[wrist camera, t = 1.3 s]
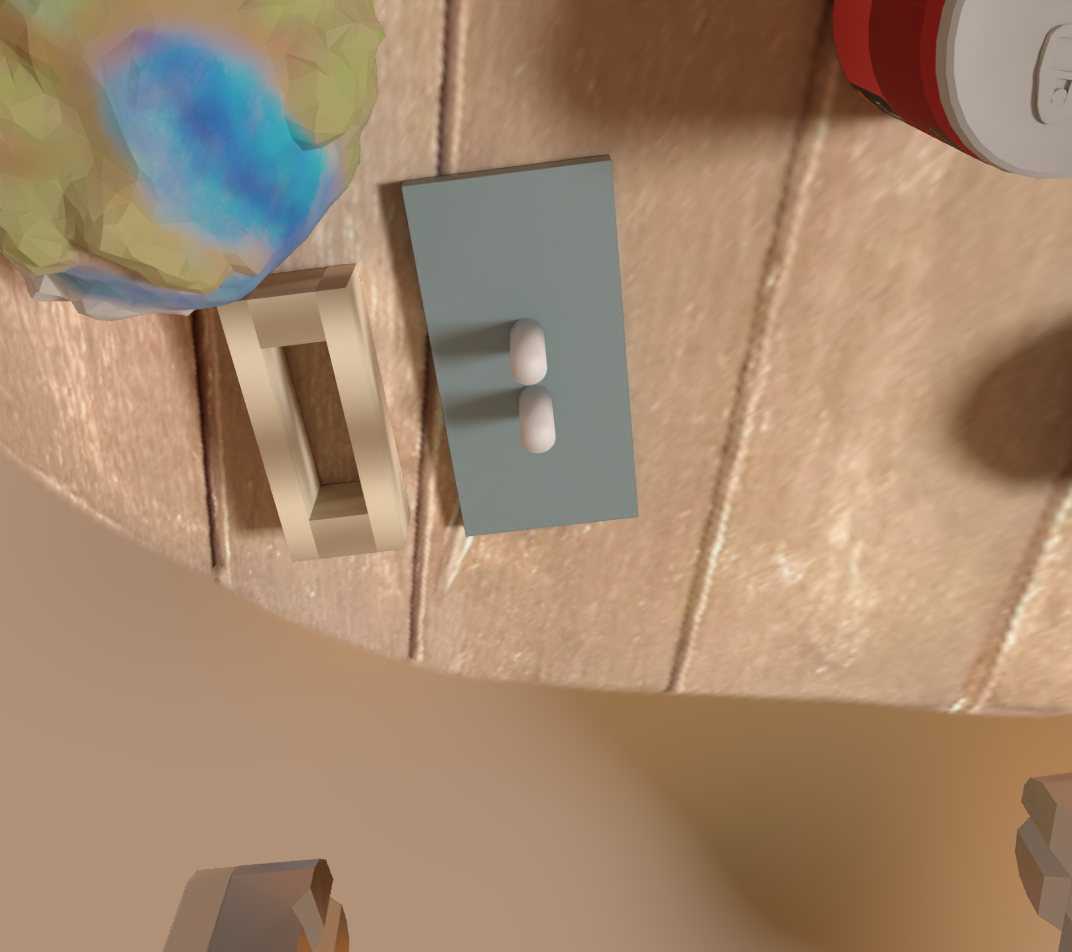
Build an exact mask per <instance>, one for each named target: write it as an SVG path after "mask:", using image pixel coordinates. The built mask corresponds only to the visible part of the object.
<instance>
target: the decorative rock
mask: <svg viewBox="0 0 1072 952" xmlns="http://www.w3.org/2000/svg"><path fill="white" fill-rule="evenodd" d="M384 37H385V34H384V32H383V30H382V28H381V26H380V22H379V21H378V19H377V18H376V16H375V12H374V8H373V0H0V252H1V253H2V254H3V255H4V256H5V257H6V258H7V259H8V260H9V261H10V262H11V263H12V264H13V265H14V266H15V267H16V268H17V270H18V271H19V272H20V273H21V275H22V276H23V277H24V278H25V280H26V283H27V288H28V292H29V294H30V295H31V297H32V299H36V300H39V301H72V303H73V305H74V306H75V308H76V310H77V311H78V313H81V314H83V315H86V316H89V317H92V318H94V319H97V320H105V321H117V320H121V319H126V318H131V317H136V316H140V315H145V314H153V313H161V314H177V315H183V316H188V315H189V314H190V313H192V312H193V311H194V310H196V309H206V308H212V307H219V306H223V305H226V304H229V303H232V302H236V301H238V300H240V299H241V298H243V297H244V296H246V295H247V294H248V293H250V292H251V291H252V290H254V289H255V288H256V287H257V285H258V284H259V283H260V282H261V281H262V280H263V279H264V278H265V277H266V276H267V275H268V274H269V273H270V272H272V271H273V270H274V269H275V268H276V267H278V266H279V265H280V264H281V263H282V262H283V261H284V260H285V259H286V258H287V257H288V256H289V255H290V254H291V253H292V252H293V251H294V250H295V249H296V248H297V247H298V246H299V245H300V244H301V243H303V242H304V241H305V240H306V239H307V237H308V236H309V234H310V233H311V231H312V230H313V229H314V227H315V226H316V225H317V223H318V222H319V221H320V220H321V218H322V217H323V216H324V214H325V213H326V212H327V210H328V209H329V207H330V206H331V205H332V204H333V203H334V202H335V201H336V200H337V199H338V198H339V196H340V195H341V194H342V193H343V192H344V191H345V190H346V189H347V188H348V186H349V184H350V182H351V180H352V178H353V176H354V173H355V171H356V168H357V166H358V164H359V163H360V134H361V132H362V130H363V129H364V127H365V125H366V124H367V122H368V120H369V118H370V115H371V112H372V109H373V106H374V103H375V100H376V98H377V95H378V89H377V65H376V60H375V55H376V51H377V47H378V45H379V43H380V42H381V41H382V39H383V38H384Z"/></svg>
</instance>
